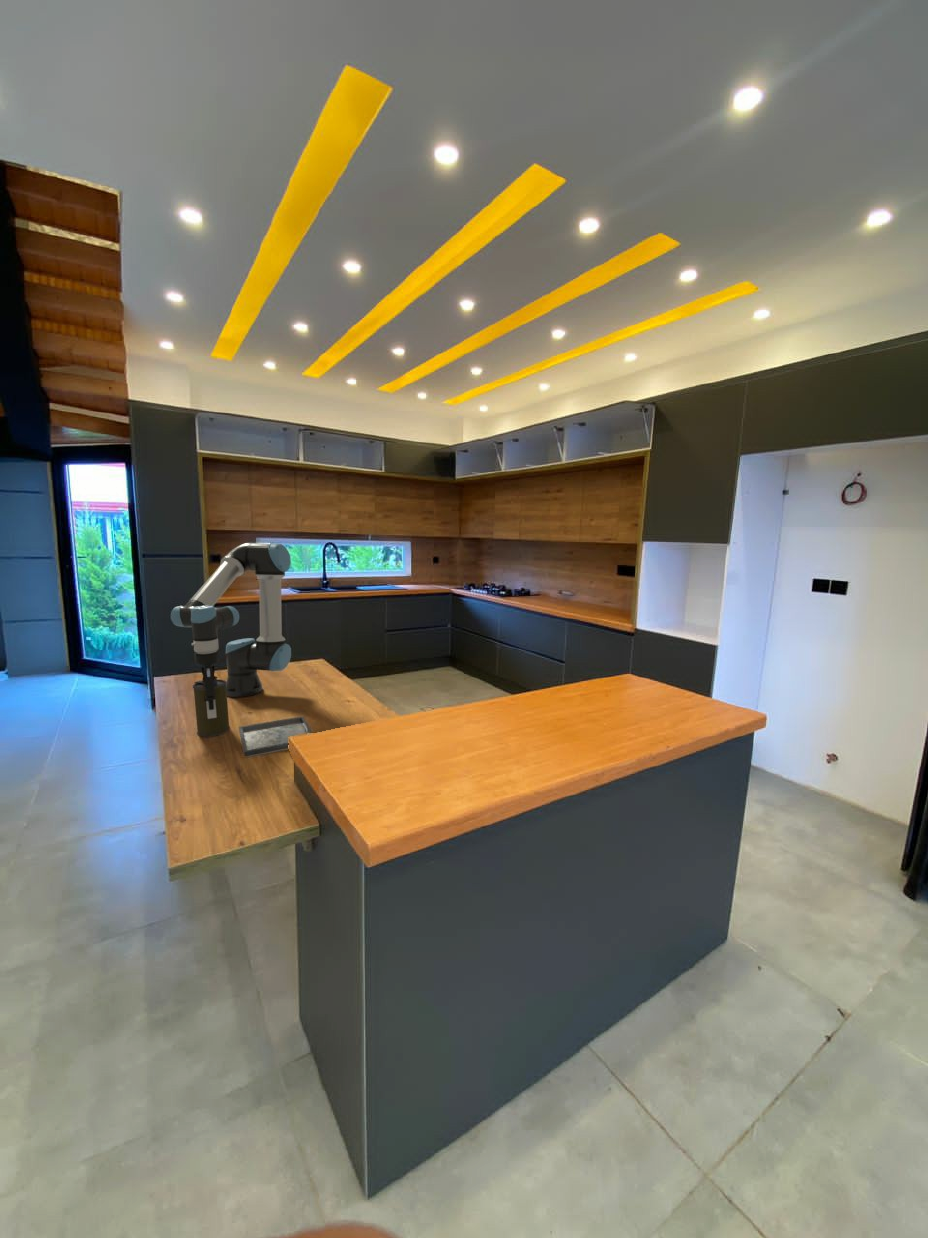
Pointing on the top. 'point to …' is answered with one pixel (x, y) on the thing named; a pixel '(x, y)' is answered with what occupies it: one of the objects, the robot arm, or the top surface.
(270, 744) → the shallow grey tray
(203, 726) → the canister
